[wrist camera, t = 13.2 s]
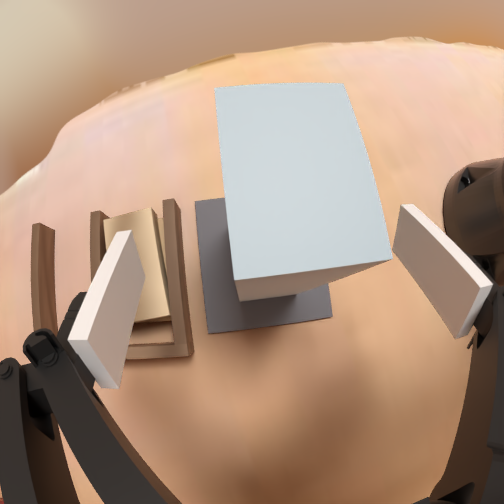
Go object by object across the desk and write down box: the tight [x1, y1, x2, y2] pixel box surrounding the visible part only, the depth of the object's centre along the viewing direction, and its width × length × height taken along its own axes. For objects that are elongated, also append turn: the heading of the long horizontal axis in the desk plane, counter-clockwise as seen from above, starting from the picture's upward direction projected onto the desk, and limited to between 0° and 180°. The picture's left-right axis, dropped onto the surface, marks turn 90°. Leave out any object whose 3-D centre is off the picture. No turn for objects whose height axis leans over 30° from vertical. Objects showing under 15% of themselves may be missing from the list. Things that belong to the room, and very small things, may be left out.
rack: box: [31, 199, 194, 359], centre depth 25 cm, size 15×13×3 cm
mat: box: [195, 198, 333, 334], centre depth 27 cm, size 11×12×1 cm
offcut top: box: [103, 207, 171, 323], centre depth 25 cm, size 4×9×2 cm, turn 13°
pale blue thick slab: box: [214, 83, 393, 302], centre depth 18 cm, size 5×7×18 cm
